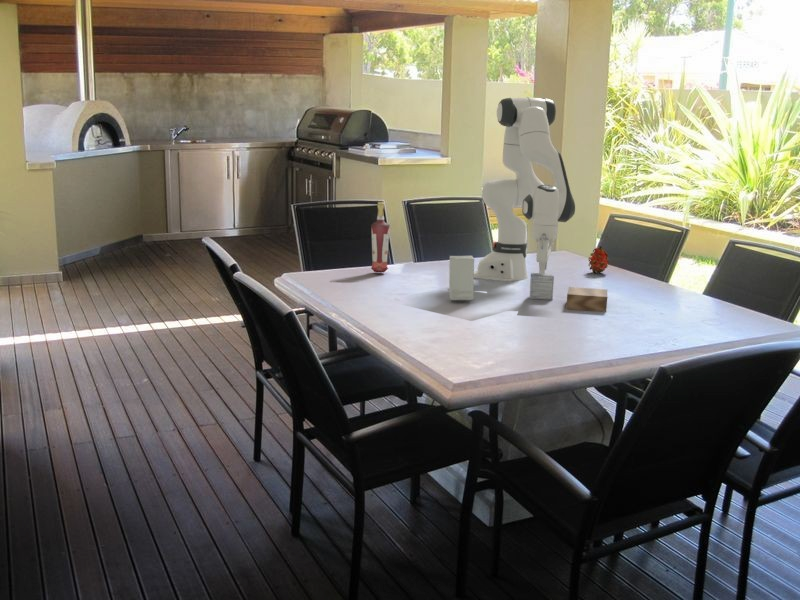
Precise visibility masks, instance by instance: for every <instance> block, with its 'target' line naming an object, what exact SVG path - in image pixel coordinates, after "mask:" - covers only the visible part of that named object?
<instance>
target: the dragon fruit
mask: <svg viewBox="0 0 800 600" xmlns="http://www.w3.org/2000/svg"><path fill="white" fill-rule="evenodd" d="M609 263H610V260H609V254H608V252H606V251H605V249H604V248H603V247H602V246H601V245H599V246H598V248H597V247H595V248H594V249H593V250H592V253H590V256H588V266H589V270H590V271H592V273H596V274H597V273H600V274H601V273H603V272H604V271H605V270H606V269H607V268H608V266H609Z"/></svg>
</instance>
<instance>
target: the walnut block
mask: <svg viewBox="0 0 800 600" xmlns="http://www.w3.org/2000/svg"><path fill="white" fill-rule="evenodd" d="M565 306H566V310H575V311H577V310H579V311H589V312H590V311H591V312H592V311H593V312H594V311H595V312H607V306H608V289H603V288H590V287H577V286H576V287H575V286H569V287H568V291H567V294H566V305H565Z"/></svg>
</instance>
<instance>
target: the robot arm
mask: <svg viewBox="0 0 800 600" xmlns="http://www.w3.org/2000/svg"><path fill="white" fill-rule="evenodd" d="M556 114H557V107H556V104H555V102H554V101H553V100H552V99H550V98H546V97H544V98H543V97H542V98H541V97H533V96H526V97H513V98H511V97H507V98H503V99H501V100H500V101H499V103H498V105H497V108H496V117H497V122H498V123H499V124H500V126H502V127H505V130H504V136H503V145H502V146H503V148H502V163H503V166H504V167H505V168H507V169H508V170H509V171H512V172H513V173H515V175H516V177H515V179H503V178H502V179H493V180H489V181H487V182H486V183H484V185H483V187H482V188H481V198H482V201H483V202H484V204H485V205H486V206H488V208H489V209H490V210H491V211H492V212H493V214H494V215H495V218H496V221H497V230H498V231H497V236H498V237H497V241H496V240H495V241H493V243H492V251H491V252H489V253H488V254H486V255H485V256H484V257H483V258H481V259H480V260H479V262H478V264H477V268H476V270H474V279H483V280H493V281H502V282H514V281H523V280H526V279H529V275H528V270H527V261H526V260H527V254H528V243H527V231H528V226H527V223H526V221H525V220H524V219H522V217H519V216H517V215H515V214H514V209H515V208H516V209H517V208H520V209H521V208H522V215H523V216H524V217H525V218H526V219H527V220H529V221H532V231H531V237H532V238H533V239H534V241H535V243H536V244H537V245H536V257H535V258H536V263H538V273H539V274H544V273H545V274H546V270H547V268H548V267H547V266H548V261H549V258H550V256H551V253H552V249H553V244H554V242H555V241H554V240H556V239H558V236H559V223H567V222H568V221H570V219H572V218H573V217H574V215H575V213H576V204H575V199H574V197H573V194H572V192H571V189H570V188H571V187H570V183H569V180H568V179H569V178H568V175H567V172H566V167H565V165H564V161H563V157H562V154H561V152H560V151H559V150H557V149H556V148H555V147H554V145H553V142H552V139H551V132H550V126H551V125H552V124H553V123H554V122H555V120H556V117H557V116H556ZM533 164H537V165H539V166H541V167H543V168H545V169H547V170H548V171H549V172H550V173H551V175H552V179H553V184H554V185H550V184H544V182H542V180H540V179H539V177H538V176H537V175H536V173H535V171H534V168H533Z"/></svg>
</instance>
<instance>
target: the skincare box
mask: <svg viewBox="0 0 800 600" xmlns="http://www.w3.org/2000/svg"><path fill="white" fill-rule="evenodd" d="M448 265H449V279H448V280H449V286H448V287H449V289H448V291H449V293H448V294H449V295H448V296H449V298H450V300H451V301H455V300H457V301H459V300H464V301H465V300H466V301H467V300H468V301H469V300H471V301H472V300H474V287H475V285H474V284H475V283H474V281H475V280H474V279H475V278H474V271H475V258H474V256H473V255H449V264H448Z"/></svg>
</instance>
